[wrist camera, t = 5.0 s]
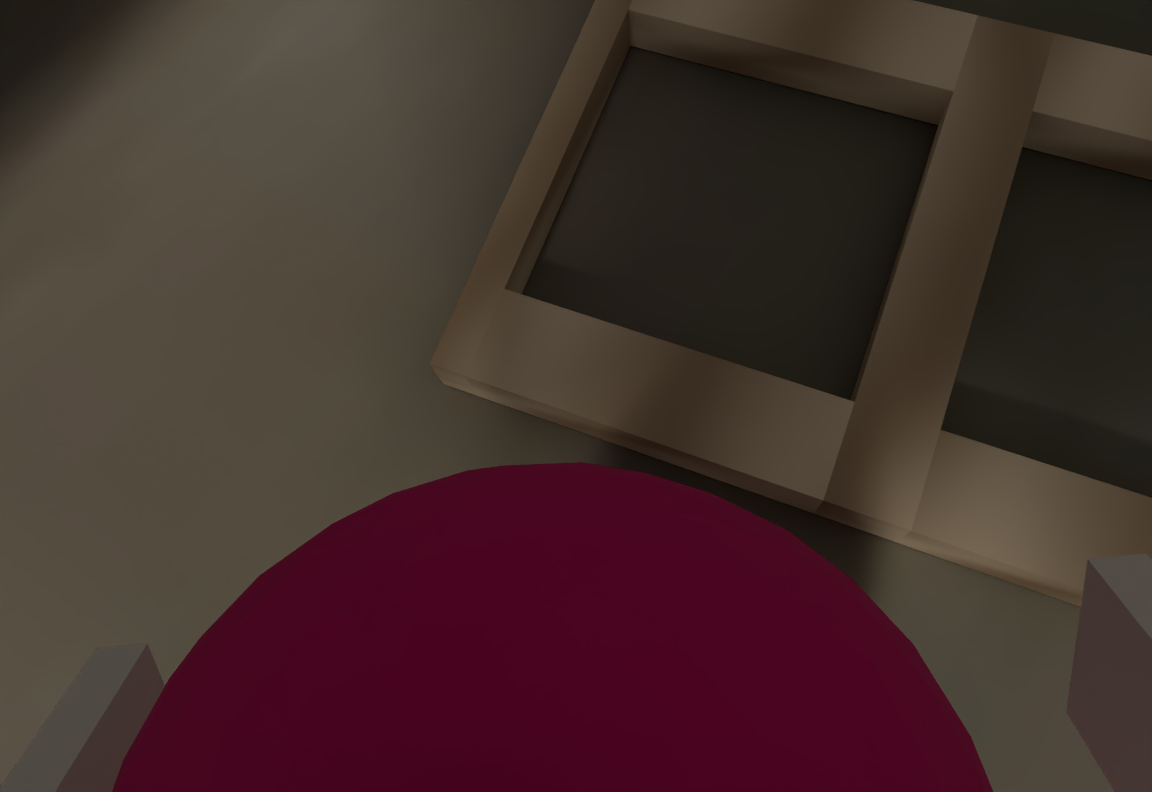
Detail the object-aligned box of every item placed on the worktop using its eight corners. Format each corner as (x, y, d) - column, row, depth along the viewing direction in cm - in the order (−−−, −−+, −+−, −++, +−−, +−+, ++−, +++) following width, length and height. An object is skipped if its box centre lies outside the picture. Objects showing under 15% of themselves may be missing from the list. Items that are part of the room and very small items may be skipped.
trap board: (443, 383, 25) (426, 359, 23) (627, -28, 29) (625, -75, 27) (1793, 856, 19) (1904, 870, 17) (1806, 256, 23) (1899, 219, 21)
